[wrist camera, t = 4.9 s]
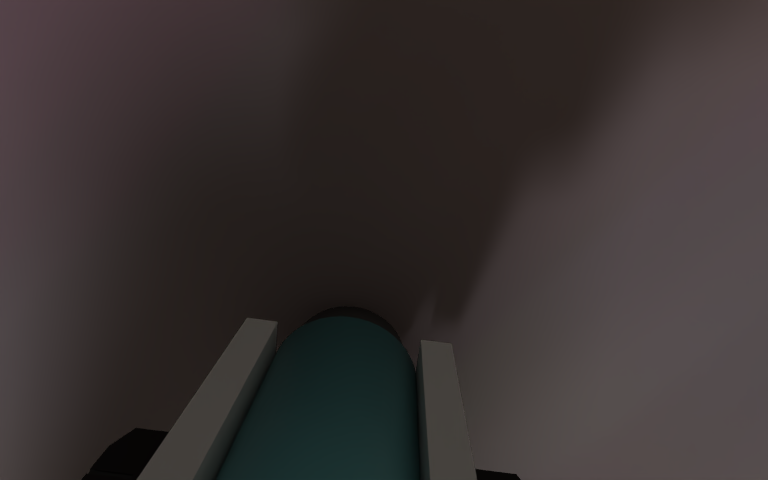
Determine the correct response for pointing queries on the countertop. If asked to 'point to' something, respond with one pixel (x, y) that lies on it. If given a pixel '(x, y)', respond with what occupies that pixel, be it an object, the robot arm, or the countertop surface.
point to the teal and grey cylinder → (332, 406)
